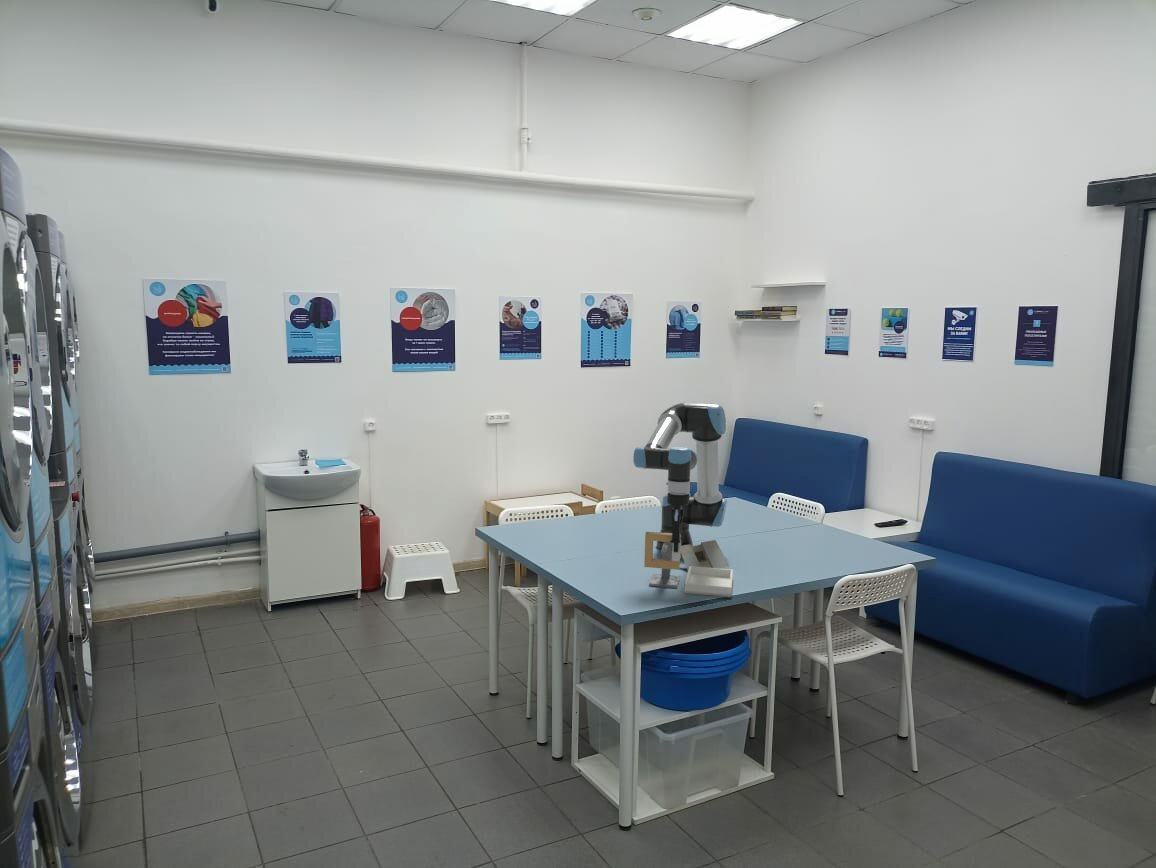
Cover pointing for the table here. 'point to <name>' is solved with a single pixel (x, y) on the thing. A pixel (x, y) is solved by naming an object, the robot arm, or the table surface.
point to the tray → (709, 581)
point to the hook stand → (665, 571)
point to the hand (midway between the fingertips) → (676, 559)
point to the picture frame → (649, 551)
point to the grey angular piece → (704, 555)
